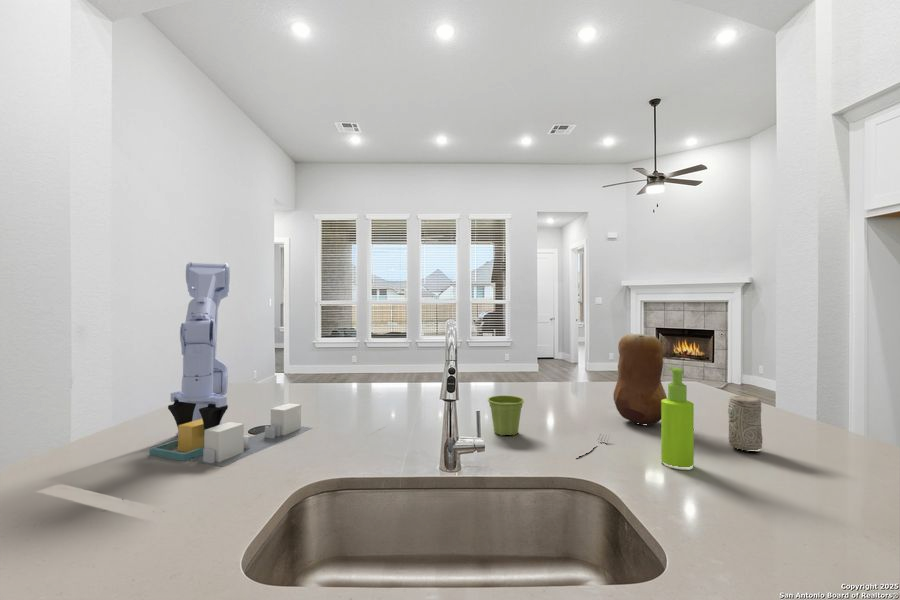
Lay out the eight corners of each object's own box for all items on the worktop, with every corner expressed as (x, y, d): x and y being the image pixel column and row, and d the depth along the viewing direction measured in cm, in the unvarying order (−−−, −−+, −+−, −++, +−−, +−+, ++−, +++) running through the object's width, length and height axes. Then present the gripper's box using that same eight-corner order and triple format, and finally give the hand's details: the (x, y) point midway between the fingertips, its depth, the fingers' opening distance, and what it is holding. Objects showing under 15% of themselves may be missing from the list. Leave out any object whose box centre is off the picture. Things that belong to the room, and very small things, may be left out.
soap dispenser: (689, 460, 90) (689, 366, 90) (696, 472, 84) (696, 371, 84) (658, 456, 92) (658, 364, 92) (663, 468, 86) (663, 369, 86)
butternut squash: (670, 421, 120) (670, 333, 120) (664, 433, 109) (665, 336, 109) (618, 414, 127) (618, 331, 127) (608, 425, 116) (608, 333, 116)
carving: (764, 449, 97) (764, 397, 97) (759, 458, 92) (759, 402, 92) (731, 443, 102) (731, 393, 102) (725, 451, 96) (725, 398, 96)
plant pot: (482, 436, 106) (482, 401, 106) (493, 425, 115) (493, 393, 115) (519, 440, 103) (519, 404, 103) (527, 429, 111) (527, 396, 111)
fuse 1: (204, 459, 86) (204, 429, 86) (229, 449, 91) (229, 421, 91) (219, 462, 84) (219, 431, 84) (243, 452, 90) (243, 423, 90)
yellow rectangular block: (177, 453, 91) (178, 425, 91) (202, 444, 96) (203, 418, 96) (191, 455, 89) (191, 427, 89) (216, 446, 95) (216, 420, 95)
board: (188, 467, 85) (188, 448, 85) (284, 429, 110) (284, 414, 110) (222, 474, 82) (222, 453, 82) (312, 433, 107) (312, 418, 107)
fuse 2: (270, 433, 102) (270, 408, 102) (288, 426, 108) (288, 403, 108) (283, 435, 101) (284, 410, 101) (300, 428, 107) (300, 404, 107)
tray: (149, 461, 88) (149, 448, 88) (208, 441, 101) (209, 429, 101) (184, 468, 85) (184, 454, 85) (240, 446, 98) (241, 434, 98)
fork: (570, 459, 92) (570, 449, 92) (599, 441, 104) (599, 433, 104) (581, 462, 90) (581, 452, 90) (610, 443, 102) (610, 435, 102)
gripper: (157, 375, 92) (156, 438, 92) (206, 380, 87) (206, 446, 87) (187, 370, 98) (186, 429, 98) (234, 374, 93) (234, 436, 93)
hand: (197, 436), depth 93 cm, fingers open, 7 cm apart
